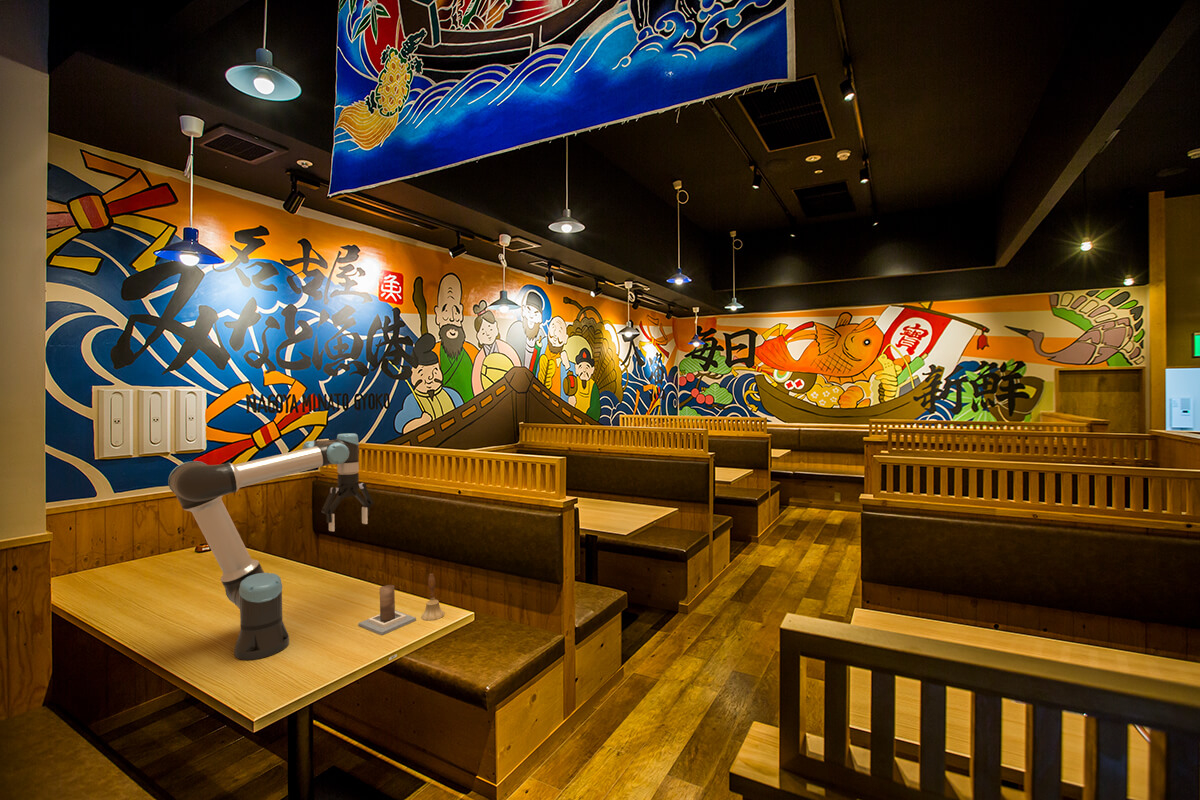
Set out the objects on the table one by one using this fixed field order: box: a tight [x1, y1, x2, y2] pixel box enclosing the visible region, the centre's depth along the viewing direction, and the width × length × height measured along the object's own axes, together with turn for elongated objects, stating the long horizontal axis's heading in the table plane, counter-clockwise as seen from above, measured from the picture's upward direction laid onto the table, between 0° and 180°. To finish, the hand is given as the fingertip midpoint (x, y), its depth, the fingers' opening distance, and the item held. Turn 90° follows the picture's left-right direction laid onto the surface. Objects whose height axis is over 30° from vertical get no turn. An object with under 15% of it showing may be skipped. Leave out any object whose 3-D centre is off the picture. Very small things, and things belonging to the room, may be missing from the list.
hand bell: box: [421, 573, 445, 621], centre depth 198 cm, size 8×8×16 cm
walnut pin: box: [379, 584, 396, 623], centre depth 192 cm, size 5×5×12 cm
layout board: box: [358, 609, 417, 636], centre depth 192 cm, size 14×14×2 cm
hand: (348, 527), depth 207 cm, fingers open, 13 cm apart
